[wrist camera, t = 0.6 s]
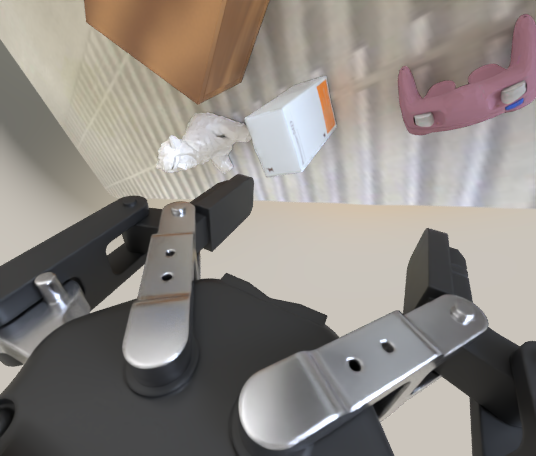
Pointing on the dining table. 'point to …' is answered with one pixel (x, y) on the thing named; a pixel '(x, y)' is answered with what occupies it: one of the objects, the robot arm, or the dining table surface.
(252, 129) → the cosmetic box
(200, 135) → the seated beast figurine
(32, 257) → the robot arm
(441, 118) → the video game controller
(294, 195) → the dining table surface
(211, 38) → the cabinet
